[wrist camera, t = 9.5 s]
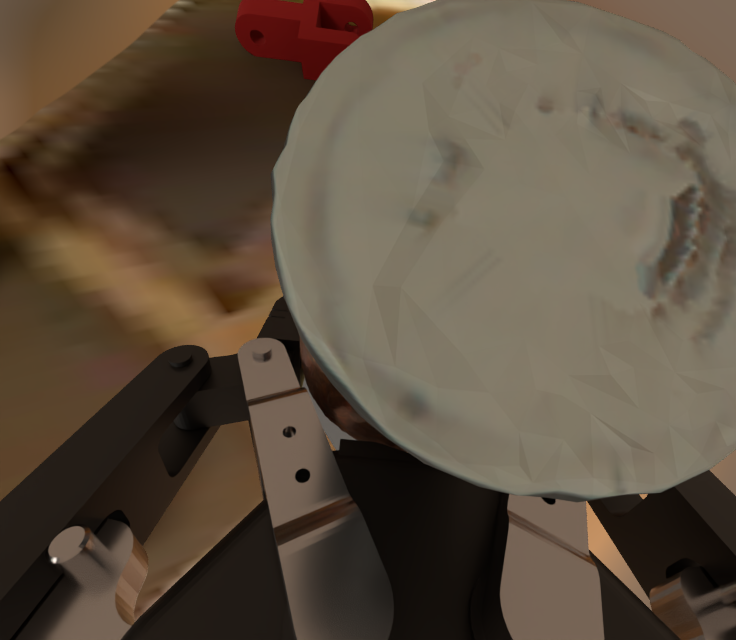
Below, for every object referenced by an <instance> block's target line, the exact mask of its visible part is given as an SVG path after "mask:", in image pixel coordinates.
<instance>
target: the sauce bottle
mask: <svg viewBox="0 0 736 640" xmlns="http://www.w3.org/2000/svg"><path fill="white" fill-rule="evenodd" d="M271 185H272V198H273V207H272V213H271V240H272V247H273V253H274V260H275V267H276V270H277V274H278V278H279V281H280V285H281V289H282V292H283V296H284V299H285V301H286V304H287V306H288V308H289V311H290V313H291V316H292V318H293V320H294V323H295V325H296V328H297V330H298V333H299V336H300V346H299V348H300V357H301V363H302V369H303V373H304V376H305V380H306V384H307V386H308V388H309V392H310V393H311V395H312V397H313V399H314V400H315V402H316V403H317V405H318V406H319V408H320V409H321V410H322V412H323V413H324V415H325V416H326V417H327V418H328V419H329V420H330V421H331V422H333V423H334V424H335V425H336V426H338V427H339V428H340V429H341V431H343V432H345V433H347V434H348V435H350V436H351V437H353V438H354V439H356V440H360V441H370V442H377V443H380V444H383V445H386V446H389V447H392V448H395V449H398V450H402V451H405V452H408V453H410V454H411V455H413V456H414V457H415V458H417V459H418V460H420V461H421V462H423V463H424V464H427V465H429V466H431V467H434V468H436V469H439V470H441V471H443V472H446V473H448V474H450V475H453V476H455V477H457V478H460V479H462V480H465V481H467V482H469V483H472V484H474V485H476V486H479V487H482V488H486V489H491V490H495V491H499V492H503V493H508V494H512V495H518V496H532V497H546V498H553V499H559V500H565V501H571V502H584V501H590V500H596V499H602V498H608V497H614V496H621V495H634V494H652V493H661V492H663V491H665V490H667V489H669V488H672V487H674V486H676V485H678V484H680V483H682V482H684V481H686V480H688V479H691V478H693V477H695V476H697V475H699V474H701V473H703V472H705V471H708V470H710V469H711V468H712V467H714V466H715V465H716V464H718V463H719V462H720V461H721V460H723V459H724V458H725V457H727V456H728V455H729V454H731V453H732V452H733V451H735V450H736V84H735V83H734V81H733V80H731V79H730V78H729V77H728V76H727V75H725V74H724V73H723V72H722V71H720V70H719V69H718V68H717V67H716V66H714V65H713V64H712V63H711V62H709V61H708V60H707V59H706V58H704V57H702V56H700V55H698V54H696V53H694V52H693V51H691V50H690V49H689V48H688V47H687V46H686V45H684V44H683V43H682V42H681V41H680V40H678V39H676V38H675V37H673V36H671V35H669V34H667V33H665V32H663V31H661V30H658V29H655V28H653V27H650V26H647V25H644V24H641V23H638V22H636V21H633V20H630V19H627V18H625V17H622V16H619V15H616V14H613V13H610V12H607V11H604V10H601V9H598V8H595V7H592V6H589V5H585V4H582V3H579V2H574V1H567V0H436V1H434V2H431V3H428V4H425V5H423V6H420V7H417V8H414V9H410V10H407V11H403V12H400V13H397V14H395V15H394V16H392V17H391V18H390V19H388V20H387V21H385V22H384V23H382V24H381V25H379V26H378V27H377V28H375V29H374V30H372V31H370V32H368V33H366V34H364V35H362V36H360V37H359V38H358V39H357V40H356V41H354V42H353V43H352V44H351V45H350V46H348V47H347V48H346V49H345V50H343V51H342V52H341V53H340V54H339V55H337V56H336V57H335V59H334V60H333V61H332V62H331V63H330V64H329V65H328V66H327V68H326V69H325V70H324V71H323V72H322V73H321V75H320V76H319V78H318V79H317V81H316V82H315V84H314V85H313V87H312V88H311V90H310V91H309V93H308V94H307V96H306V97H305V99H304V100H303V101H302V103H301V104H300V105H299V106H298V108H297V110H296V113H295V115H294V117H293V119H292V121H291V124H290V127H289V130H288V134H287V137H286V141H285V144H284V148H283V151H282V153H281V154H280V156H279V157H278V159H277V162H276V164H275V166H274V168H273V171H272V173H271Z"/></svg>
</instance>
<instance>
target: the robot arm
mask: <svg viewBox="0 0 736 640" xmlns="http://www.w3.org/2000/svg"><path fill="white" fill-rule="evenodd" d="M299 346H300V336H299V333H298V330H297V328H296V325H295V323H294V320H293V318H292V316H291V313H290V311H289V308H288V306H287V304H286V301H285V299H284V296H283V297H281V298H280V299H279V300H277V301H276V302H275V304H274V306H273V308H272V311H271V312H270V314H269V317H268V318H267V320H266V322H265V323H264V325H263V327H262V329H261V331H260V333H259V335H258V337H257V339H254V340H251V341H249V342H247V343H245V344H244V345H243V346H241V348H240V349H239V351H238V353H237V354H234V355H228V356H220V357H212V358H209V356H208V353H207V351H206V350H205V349H204V348H202V347H199V346H195V345H183V346H178V347H174V348H171V349H169V350H167V351H165V352H163V353H162V354H160V355H159V356H158V357H157V358H156V359H155V360H154V361H152V362H151V363H150V364H149V365H148V366H147V367H146V368H145V369H144V370H143V371H142V372H141V373H139V374H138V375H137V376H136V377H135V378H134V379H133V380H132V381H131V382H130V383H129V384H127V385H126V386H125V387H124V388H123V389H122V390H121V391H120V392H119V393H118V394H117V395H115V396H114V397H113V398H112V399H111V400H110V401H109V402H108V403H107V404H106V405H105V406H104V407H102V408H101V409H100V410H99V411H98V412H97V413H96V414H95V415H94V416H93V417H92V418H90V419H89V420H88V421H87V422H86V423H85V424H84V425H83V426H82V427H81V428H80V429H79V430H77V431H76V432H75V433H74V434H73V435H72V436H71V437H70V438H69V439H68V440H67V441H65V442H64V443H63V444H62V445H61V446H60V447H59V448H58V449H57V450H56V451H55V452H53V453H52V454H51V455H50V456H49V457H48V458H47V459H46V460H45V461H44V462H43V463H42V464H40V465H39V466H38V467H37V468H36V469H35V470H34V471H33V472H32V473H31V474H30V475H28V476H27V477H26V478H25V479H24V480H23V481H22V482H21V483H20V484H19V485H18V486H16V487H15V488H14V489H13V490H12V491H11V492H10V493H9V494H8V495H7V496H6V497H5V498H3V499H2V500H1V501H0V640H736V496H735V495H734V494H733V493H732V492H731V491H730V490H729V489H728V488H727V487H726V486H725V485H724V484H723V483H722V482H721V481H720V480H719V479H718V478H717V477H716V476H715V475H714V474H713V473H712V472H710V470H708V471H705V472H703V473H701V474H699V475H697V476H695V477H693V478H691V479H688V480H686V481H684V482H682V483H680V484H678V485H676V486H674V487H672V488H669V489H667V490H665V491H663V492H661V493H652V494H648V495H647V497H646V498H645V499H642V498H641V497H640V495H639V494H634V495H621V496H614V497H608V498H602V499H596V500H590V501H587V502H588V503H589V505H590V506H591V508H592V509H593V511H594V513H595V514H596V516H597V517H598V519H599V520H600V522H601V524H602V525H603V527H604V528H605V530H606V532H607V533H608V535H609V536H610V538H611V539H612V541H613V543H614V544H615V546H616V547H617V549H618V551H619V552H620V554H621V555H622V557H623V558H624V560H625V562H626V563H627V565H628V566H629V568H630V569H631V571H632V573H633V574H634V576H635V577H636V579H637V581H638V582H639V584H640V585H641V587H642V588H643V590H644V591H645V593H646V595H647V596H648V598H649V600H650V604H651V608H652V611H653V612H652V611H651V610H650V609H649V608H648V607H647V606H646V605H645V604H644V603H643V602H642V601H641V600H640V599H639V598H638V597H637V596H636V595H635V594H634V593H633V592H632V591H631V590H630V589H629V588H628V587H627V586H626V585H625V584H624V583H622V581H621V580H619V579H618V578H617V577H616V576H615V575H614V574H613V573H612V572H611V571H610V570H609V569H608V568H607V567H606V566H605V565H604V564H603V563H602V562H601V561H600V560H599V559H598V558H597V557H596V556H595V555H594V554H593V553H592V552H591V551H590V550H589V549H588V532H587V513H586V501H584V502H571V501H565V500H559V499H553V498H546V497H532V496H518V495H512V494H508V493H503V492H499V491H495V490H491V489H486V488H482V487H479V486H476V485H474V484H472V483H469V482H467V481H465V480H462V479H460V478H457V477H455V476H453V475H450V474H448V473H446V472H443V471H441V470H439V469H436V468H434V467H431V466H429V465H427V464H424V463H423V462H421V461H420V460H418V459H417V458H415V457H414V456H413V455H411V454H410V453H408V452H405V451H402V450H398V449H395V448H392V447H389V446H386V445H383V444H380V443H377V442H370V441H360V440H349V439H340V446H339V450H336V451H332V450H331V448H330V445H329V443H328V440H327V438H326V435H325V433H324V430H323V428H322V425H321V423H320V420H319V418H318V415H317V413H316V410H315V408H314V405H313V403H312V400H311V398H310V395H309V393H308V391H307V389H306V388H305V387H302V386H303V382H304V379H305V376H304V373H303V369H302V363H301V357H300V348H299ZM246 420H248V421H249V427H250V432H251V437H252V442H253V447H254V452H255V458H256V463H257V468H258V474H259V480H260V485H261V491H262V496H263V501H262V502H261V503H260V504H259V505H258V506H257V507H256V508H255V509H253V510H252V511H251V512H250V513H249V514H248V515H247V516H246V517H245V518H244V519H243V520H242V521H241V522H240V523H239V524H238V525H237V526H236V527H234V528H233V529H232V530H231V531H230V532H229V533H228V534H227V535H226V536H225V537H224V538H223V539H222V540H221V541H220V542H219V543H218V544H216V545H215V546H214V547H213V548H212V549H211V550H210V551H209V552H208V553H207V554H206V555H205V556H204V557H203V558H202V559H201V560H200V561H198V562H197V563H196V564H195V565H194V566H193V567H192V568H191V569H190V570H189V571H188V572H187V573H186V574H185V575H184V576H183V577H182V578H180V579H179V580H178V581H177V582H176V583H175V584H174V585H173V586H172V587H171V588H170V589H169V590H168V591H167V592H166V593H165V594H164V595H163V596H161V597H160V598H159V599H158V600H157V601H156V602H155V603H154V604H153V605H152V606H151V607H150V608H149V609H148V610H147V611H146V612H145V613H144V614H143V615H141V616H140V617H139V619H138V620H137V621H136V622H135V623H134V607H135V602H136V599H137V596H138V593H139V591H140V589H141V587H142V585H143V582H144V580H145V578H146V575H147V571H148V556H147V553H146V551H145V549H144V548H143V544H144V543H145V541H146V540H147V538H148V537H149V535H150V534H151V532H152V530H153V529H154V527H155V526H156V524H157V523H158V521H159V520H160V518H161V517H162V515H163V514H164V512H165V510H166V509H167V507H168V506H169V504H170V503H171V501H172V500H173V498H174V497H175V495H176V493H177V492H178V490H179V489H180V487H181V486H182V484H183V483H184V481H185V480H186V478H187V476H188V475H189V473H190V472H191V470H192V469H193V467H194V466H195V464H196V463H197V461H198V460H199V458H200V456H201V455H202V453H203V452H204V450H205V449H206V447H207V446H208V444H209V443H210V441H211V439H212V438H213V436H214V435H215V433H216V432H217V430H218V429H219V427H220V425H224V424H229V423H235V422H240V421H246Z"/></svg>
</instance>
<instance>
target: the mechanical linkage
mask: <svg viewBox="0 0 736 640" xmlns="http://www.w3.org/2000/svg"><path fill="white" fill-rule="evenodd" d="M348 22H354V23H355V24H356V25H357V26H351V25H349V24H348ZM372 28H373V13H372V10H371V7H370V6H369V4H368V3H367V1H366V0H304V2H303V4H301V3H294V2H287V1H280V0H242V1H241V3H240V5H239V9H238V14H237V19H236V23H235V32H236V35H237V38H238V40H239V42H240V43H241V45H242V46H243V47H244V48H245V49H246V50H247V51H248V52H249V53H251V54H252V55H254V56H257V57H265V58H273V59H280V60H288V61H295V62H301V63H302V69H303V76H304V79H310V80H317V79H318V78H319V76H320V75H321V73H322V72H323V71H324V70H325V69H326V68H327V66H328V65H329V64H330V63H331V62H332V61H333V60H334V59H335V57H336V56H337V55H339V54H340V53H341V52H342V51H343V50H345V49H346V48H347V47H348V46H350V45H351V44H352V43H353V42H354V41H356V40H357V39H358V38H359V37H360V36H362V35H364V34H366V33H368V32H370V31H372Z"/></svg>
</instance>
